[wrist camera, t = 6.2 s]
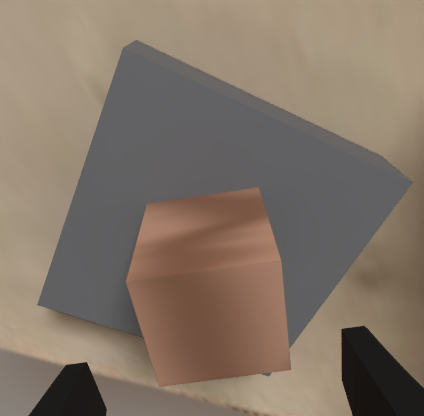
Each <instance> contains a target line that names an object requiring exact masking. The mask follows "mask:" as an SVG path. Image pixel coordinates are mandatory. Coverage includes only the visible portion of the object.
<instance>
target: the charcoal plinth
mask: <svg viewBox="0 0 424 416" xmlns="http://www.w3.org/2000/svg"><path fill="white" fill-rule="evenodd" d="M412 183H413V182H412V181H410V180H409V179H408V178H407V177H406V176H405V175H403V174H402V173H401V172H400V171H399V170H397V169H396V168H395V167H394V166H393V165H392V164H390V163H389V162H388V161H387V160H386V159H385V158H383V157H382V156H380V155H378V154H376V153H374V152H372V151H370V150H367V149H365V148H363V147H361V146H359V145H357V144H355V143H353V142H351V141H348V140H346V139H344V138H342V137H340V136H338V135H336V134H334V133H332V132H329V131H327V130H325V129H323V128H321V127H319V126H317V125H315V124H313V123H310V122H308V121H306V120H304V119H302V118H300V117H298V116H296V115H293V114H291V113H289V112H287V111H285V110H283V109H281V108H279V107H277V106H274V105H272V104H270V103H268V102H266V101H264V100H262V99H260V98H258V97H255V96H253V95H251V94H249V93H247V92H245V91H243V90H241V89H239V88H236V87H234V86H232V85H230V84H228V83H226V82H224V81H222V80H220V79H217V78H215V77H213V76H211V75H209V74H207V73H205V72H203V71H200V70H198V69H196V68H194V67H192V66H190V65H188V64H186V63H184V62H181V61H179V60H177V59H175V58H173V57H171V56H169V55H167V54H165V53H162V52H160V51H158V50H156V49H154V48H152V47H150V46H148V45H146V44H143V43H141V42H139V41H137V40H136V41H134V42H132V43H130V44H129V45H127V46H125V47H124V48H123V50H122V53H121V56H120V59H119V62H118V65H117V68H116V71H115V74H114V77H113V80H112V83H111V86H110V89H109V92H108V95H107V98H106V101H105V104H104V107H103V110H102V113H101V116H100V119H99V122H98V125H97V128H96V131H95V134H94V137H93V140H92V143H91V146H90V149H89V152H88V155H87V158H86V161H85V164H84V167H83V170H82V173H81V176H80V179H79V182H78V185H77V188H76V191H75V194H74V197H73V200H72V203H71V206H70V209H69V212H68V215H67V218H66V221H65V224H64V227H63V230H62V233H61V236H60V239H59V242H58V245H57V248H56V251H55V254H54V257H53V260H52V263H51V266H50V269H49V272H48V275H47V278H46V281H45V284H44V287H43V290H42V293H41V296H40V299H39V302H38V305H39V306H42V307H46V308H49V309H52V310H55V311H59V312H62V313H65V314H68V315H72V316H75V317H78V318H81V319H85V320H88V321H91V322H94V323H98V324H101V325H104V326H107V327H110V328H114V329H117V330H120V331H123V332H127V333H130V334H133V335H136V336H140V337H143V334H142V331H141V328H140V325H139V322H138V319H137V315H136V312H135V309H134V306H133V303H132V300H131V296H130V293H129V290H128V287H127V284H126V279H127V276H128V272H129V268H130V265H131V261H132V257H133V253H134V250H135V246H136V242H137V239H138V235H139V231H140V227H141V224H142V220H143V216H144V213H145V209H146V205H147V204H150V203H157V202H163V201H170V200H177V199H183V198H190V197H197V196H203V195H210V194H217V193H223V192H230V191H237V190H243V189H250V188H257V187H259V190H260V193H261V196H262V200H263V203H264V206H265V209H266V213H267V216H268V219H269V222H270V225H271V229H272V232H273V235H274V238H275V242H276V245H277V248H278V251H279V254H280V258H281V263H282V274H283V286H284V297H285V308H286V319H287V330H288V341H289V349H290V347H291V346H292V345H293V343H294V342H295V341H296V339H297V338H298V336H299V335H300V334H301V332H302V331H303V330H304V328H305V327H306V326H307V324H308V323H309V322H310V320H311V319H312V318H313V316H314V315H315V314H316V312H317V311H318V310H319V308H320V307H321V305H322V304H323V303H324V301H325V300H326V299H327V297H328V296H329V295H330V293H331V292H332V291H333V289H334V288H335V287H336V285H337V284H338V283H339V281H340V280H341V278H342V277H343V276H344V274H345V273H346V272H347V270H348V269H349V268H350V266H351V265H352V264H353V262H354V261H355V260H356V258H357V257H358V256H359V254H360V253H361V251H362V250H363V249H364V247H365V246H366V245H367V243H368V242H369V241H370V239H371V238H372V237H373V235H374V234H375V233H376V231H377V230H378V229H379V227H380V226H381V225H382V223H383V222H384V220H385V219H386V218H387V216H388V215H389V214H390V212H391V211H392V210H393V208H394V207H395V206H396V204H397V203H398V202H399V200H400V199H401V198H402V196H403V195H404V193H405V192H406V191H407V189H408V188H409V187H410V185H411V184H412ZM143 338H144V337H143ZM271 373H272V372H270V373H262V374H263V375H266V376H270V374H271Z"/></svg>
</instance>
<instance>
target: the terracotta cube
mask: <svg viewBox="0 0 424 416" xmlns="http://www.w3.org/2000/svg"><path fill="white" fill-rule="evenodd" d="M126 284H127V287H128V290H129V293H130V296H131V300H132V303H133V306H134V309H135V312H136V315H137V319H138V322H139V325H140V328H141V331H142V334H143V337H144V341H145V344H146V347H147V350H148V353H149V356H150V360H151V363H152V366H153V369H154V372H155V375H156V378H157V382H158V385H159V387H160V386H168V385H176V384H184V383H192V382H199V381H207V380H215V379H223V378H231V377H239V376H247V375H254V374H262V373H270V372H278V371H286V370H291V363H290V352H289V341H288V330H287V319H286V308H285V297H284V286H283V274H282V263H281V258H280V254H279V251H278V248H277V245H276V242H275V238H274V235H273V232H272V229H271V225H270V222H269V219H268V216H267V213H266V209H265V206H264V203H263V200H262V196H261V193H260V190H259V187H257V188H250V189H243V190H237V191H230V192H223V193H217V194H210V195H203V196H197V197H190V198H183V199H177V200H170V201H163V202H157V203H150V204H147V205H146V209H145V213H144V216H143V220H142V224H141V227H140V231H139V235H138V239H137V242H136V246H135V250H134V253H133V257H132V261H131V265H130V268H129V272H128V276H127V279H126Z"/></svg>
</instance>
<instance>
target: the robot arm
mask: <svg viewBox="0 0 424 416" xmlns="http://www.w3.org/2000/svg"><path fill="white" fill-rule="evenodd" d="M342 382H343V385H344V389H345V392H346V395H347V399H348V402H349V405H350V408H351V411H352V415H353V416H424V388H423V387H422V386H421V385H420V384H419V383H418V382H417V381H416V380H415V379H414V378H413V377H412V376H411V375H410V374H409V373H408V372H407V371H406V370H405V369H404V368H403V367H402V366H401V365H400V364H399V363H398V362H397V361H396V360H395V359H394V357H393V356H392V355H391V354H390V353H389V352H388V351H387V350H386V349H385V348H384V347H383V346H382V344H381V343H380V342H379V341H378V340H377V339H376V338H375V336H374V335H373V334H372V333H371V332H370V331H369V330H368V329H367V328H366V327H365V326H360V327H352V328H345V329H342ZM106 410H107V409H106V406H105V404H104V402H103V399H102V397H101V394H100V392H99V390H98V387H97V385H96V383H95V380H94V378H93V376H92V373H91V371H90V368H89V366H88V364H87V362H85V363H77V364H70V365H66V366H65V367H64V368H63V370H62V371H61V373H60V374H59V375H58V376H57V378H56V379H55V380H54V382H53V383H52V384H51V386H50V387H49V389H48V390H47V391H46V393H45V394H44V396H43V397H42V398H41V400H40V401H39V402H38V404H37V405H36V406H35V408H34V409H33V410H32V412H31V413H30V415H29V416H106Z"/></svg>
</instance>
